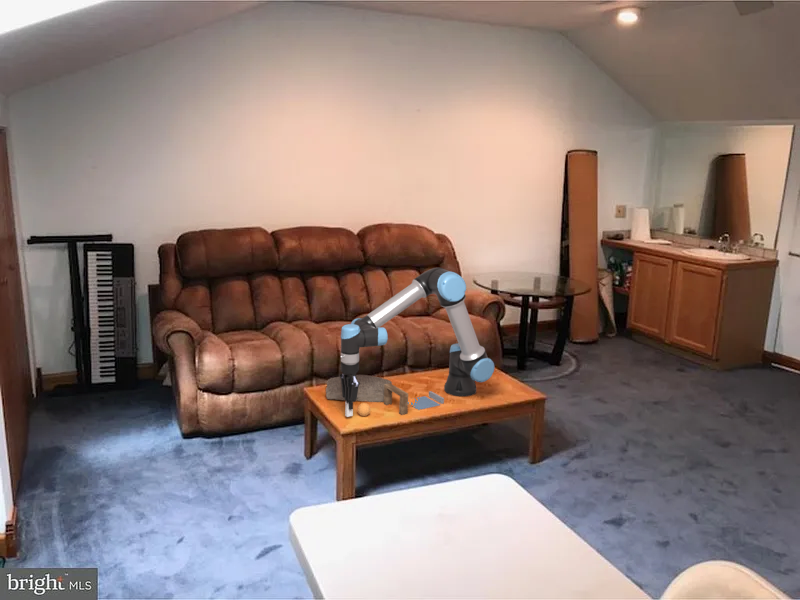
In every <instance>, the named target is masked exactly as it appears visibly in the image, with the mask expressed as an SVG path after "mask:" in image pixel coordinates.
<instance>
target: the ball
mask: <svg viewBox="0 0 800 600" xmlns="http://www.w3.org/2000/svg"><path fill="white" fill-rule="evenodd" d="M357 413H358V415H360V416H361V417H366V416H368V415H369V414H370V413H371V406H370V404H368V403H366V402H362V403H360V404H358V407H357Z"/></svg>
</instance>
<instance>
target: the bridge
mask: <svg viewBox="0 0 800 600" xmlns="http://www.w3.org/2000/svg"><path fill="white" fill-rule="evenodd" d="M393 393H394V394H396V395H397V396H399V403H398V405H399V410H398V414H400V416H404V415H409V414H408V413H409V411H408V410H409V409H408V408H409V404H408V399H409V393H408V392H406V391H405V390H403V389H401V388H399V387H397V386H396V385H394V384H393V383H392V384H391V383H389V384H384V402H383V404H384V405H385V406H390V405H392V403H393ZM389 404H390V405H389Z"/></svg>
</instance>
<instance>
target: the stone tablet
mask: <svg viewBox="0 0 800 600" xmlns="http://www.w3.org/2000/svg"><path fill="white" fill-rule="evenodd" d="M356 377H357V378H356V380H357V382H360V385H359V387H358V393H357V399H356V402H369V403H384V384H389V383H391V384H392V385H393V381H391V380H389V379H387V378H383V377H380V376H373V375H368V374H356ZM325 397H326V399H327V400H336V401H345V398H343V396H342V386H341V379H340V376H335V377H330V378H328V379H327V381H326V388H325Z"/></svg>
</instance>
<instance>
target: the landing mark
mask: <svg viewBox="0 0 800 600" xmlns="http://www.w3.org/2000/svg"><path fill="white" fill-rule="evenodd" d="M415 398H417V399H418V401H417V400H416V399H415ZM419 398H420V399H419ZM414 399H415V403H414V405H413V403H412V402H411V405H413V407H412V408H414V409H416V410H417V409H418V410H417V411H420V409H421V410H425V409H430V408H434V407H438V406H441V403H439V402H437V401H436V400H434V399H432V398H430V397H427V396H426V395H424V396H419V397H414ZM416 402H417V403H416ZM408 405H409V402H408ZM411 405H410V406H411ZM414 406H415V407H414Z"/></svg>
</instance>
